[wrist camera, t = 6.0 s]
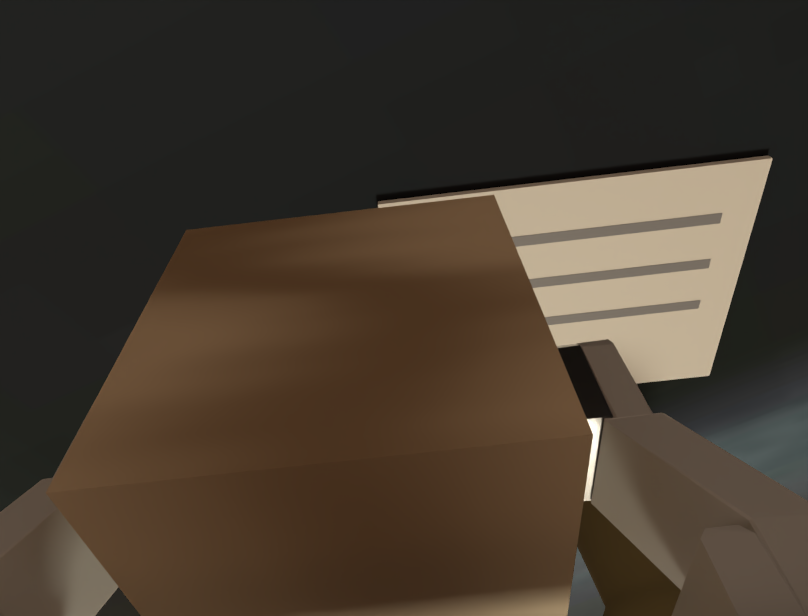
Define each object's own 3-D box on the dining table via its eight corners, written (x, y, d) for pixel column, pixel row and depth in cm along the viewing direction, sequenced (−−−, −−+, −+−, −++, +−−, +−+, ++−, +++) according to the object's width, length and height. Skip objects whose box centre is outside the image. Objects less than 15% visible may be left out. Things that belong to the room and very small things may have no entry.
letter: (407, 404, 31) (407, 408, 30) (377, 201, 24) (377, 204, 23) (706, 371, 30) (709, 375, 30) (768, 155, 23) (772, 158, 23)
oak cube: (262, 436, 12) (210, 705, 8) (186, 230, 9) (45, 493, 5) (495, 410, 12) (559, 670, 8) (493, 195, 9) (593, 434, 5)
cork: (667, 455, 34) (770, 652, 26) (609, 512, 38) (682, 704, 29) (584, 432, 33) (663, 634, 24) (530, 493, 36) (582, 690, 27)
